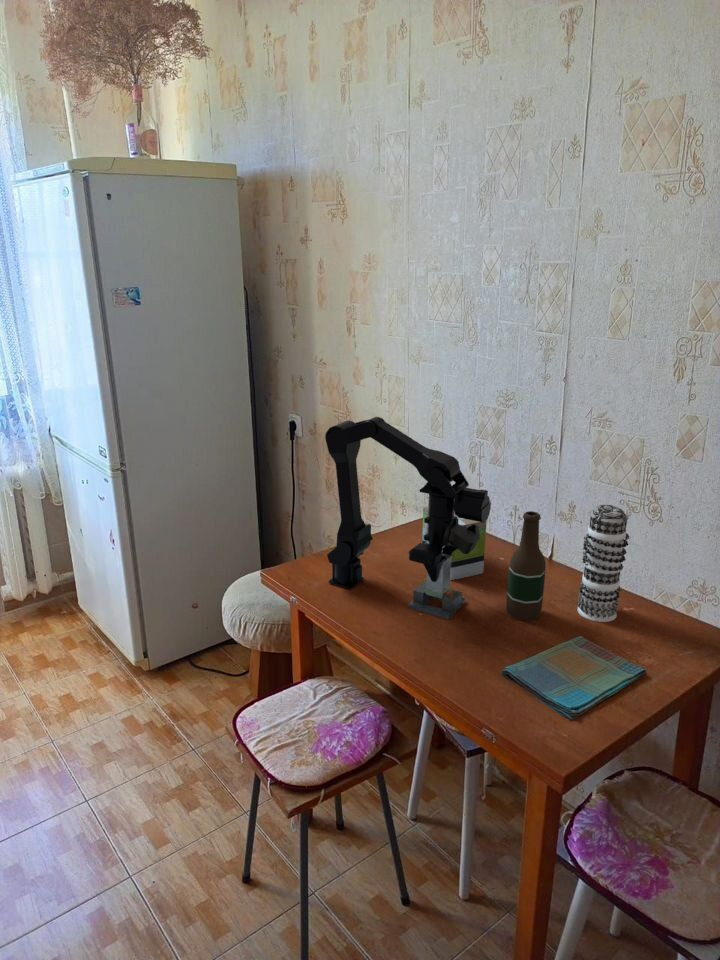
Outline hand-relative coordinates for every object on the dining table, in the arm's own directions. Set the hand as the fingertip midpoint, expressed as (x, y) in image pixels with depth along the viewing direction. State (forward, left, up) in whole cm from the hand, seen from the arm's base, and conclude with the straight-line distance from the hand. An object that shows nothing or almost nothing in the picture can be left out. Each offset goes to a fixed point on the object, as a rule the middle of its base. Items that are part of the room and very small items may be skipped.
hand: (438, 577), depth 162 cm
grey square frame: (0, 0, -7) cm, 7 cm away
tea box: (-6, +21, -7) cm, 23 cm away
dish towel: (+35, -11, -8) cm, 37 cm away
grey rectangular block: (0, 0, -4) cm, 4 cm away
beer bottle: (+18, +7, -7) cm, 21 cm away
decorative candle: (+32, +16, -7) cm, 36 cm away
